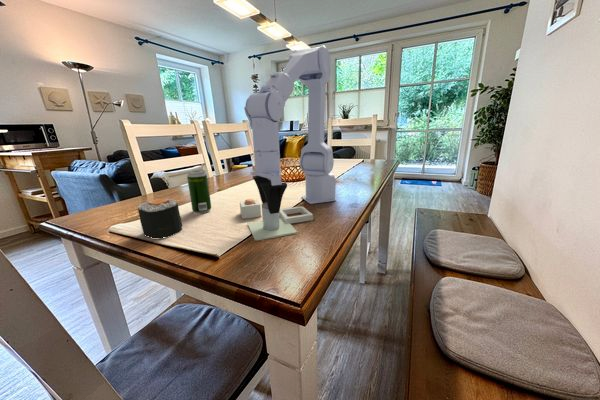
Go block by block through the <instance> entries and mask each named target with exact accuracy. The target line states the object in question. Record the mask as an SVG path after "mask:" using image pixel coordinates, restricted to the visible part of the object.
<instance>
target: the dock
mask: <svg viewBox="0 0 600 400" xmlns="http://www.w3.org/2000/svg"><path fill="white" fill-rule="evenodd" d="M300 213H301V214H300ZM293 214H298V215H293ZM299 214H300V215H299ZM288 215H293V216H288ZM279 218H282V219H283V220H284V221H285V222H286V223H288V222H289V223H290V224H291V225H292V224H296V223H302V222H308V221H309V222H310V221H313V220H314V214H313V213H312V212H310V210H308V209H307V208H305V207H304V206H303V205H300V206H295V207H293V206H292V207H287V208H280V211H279Z"/></svg>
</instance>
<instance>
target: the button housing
mask: <svg viewBox="0 0 600 400" xmlns="http://www.w3.org/2000/svg"><path fill="white" fill-rule="evenodd" d="M253 200H254V204H251V205H245V200H242V201H241V200H240V201H239V209H240V210H239V211H240V214H241V217H242V219H250V218H258V217H259V218H260V217H262V206H261V203H260V202H259V201H258V199H253Z"/></svg>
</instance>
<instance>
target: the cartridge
mask: <svg viewBox="0 0 600 400" xmlns="http://www.w3.org/2000/svg"><path fill="white" fill-rule="evenodd" d="M261 217H262V221H263V229H264V230H267V231H273V230H277V229H279V227H280V226H279V218H280V216H279V213H274V214H270V212H269V209H268V205H267V202H265V203H261Z"/></svg>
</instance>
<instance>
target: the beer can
mask: <svg viewBox="0 0 600 400" xmlns="http://www.w3.org/2000/svg"><path fill="white" fill-rule="evenodd" d="M186 174H187V175H186V179H187V185H188V190H189V191H188V192H189V197H190V203H191V210H192V212H193V214H199V215H201V214H205V213H209V212H211V211H212V201H211V195H210V188H209V179H208V174H207V171H206V170H204V169H203V170H202V169H195V170H190V171H187V172H186Z"/></svg>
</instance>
